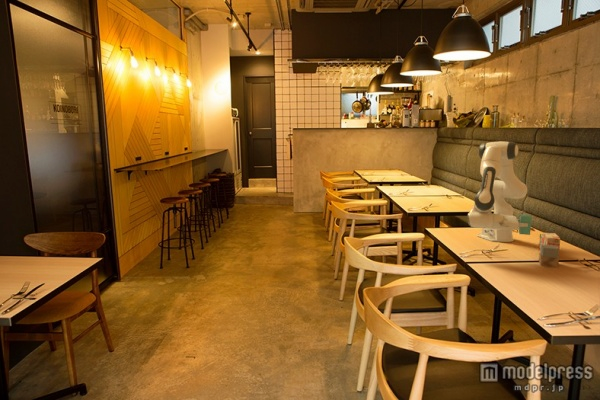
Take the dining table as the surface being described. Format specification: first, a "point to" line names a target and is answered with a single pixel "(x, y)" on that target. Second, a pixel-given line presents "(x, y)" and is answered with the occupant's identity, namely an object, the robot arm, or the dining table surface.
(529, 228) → the teal pillar
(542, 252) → the tower top
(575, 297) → the dining table surface
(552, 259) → the tower base
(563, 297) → the dining table surface
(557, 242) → the stack of blocks
